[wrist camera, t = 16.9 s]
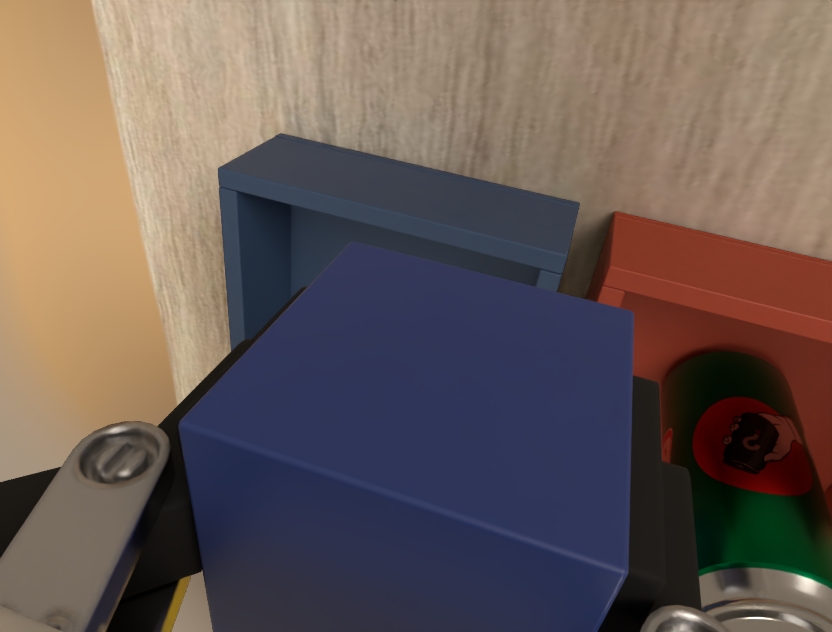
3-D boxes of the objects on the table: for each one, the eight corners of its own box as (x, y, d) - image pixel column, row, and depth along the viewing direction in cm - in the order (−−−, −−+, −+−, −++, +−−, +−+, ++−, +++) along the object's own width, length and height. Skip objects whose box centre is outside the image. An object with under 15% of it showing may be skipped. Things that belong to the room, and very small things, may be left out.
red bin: (614, 210, 24) (609, 265, 20) (994, 298, 22) (1074, 382, 17) (536, 443, 32) (521, 517, 28) (808, 529, 29) (835, 623, 25)
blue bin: (280, 132, 27) (216, 167, 23) (580, 202, 24) (567, 255, 20) (283, 364, 35) (235, 420, 31) (510, 435, 32) (492, 507, 28)
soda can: (638, 372, 27) (635, 615, 17) (751, 324, 24) (822, 581, 15) (697, 448, 28) (725, 715, 19) (812, 410, 25) (914, 702, 16)
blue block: (350, 238, 11) (174, 421, 7) (636, 309, 10) (631, 575, 6) (341, 435, 13) (213, 648, 9) (561, 506, 12) (522, 777, 8)
